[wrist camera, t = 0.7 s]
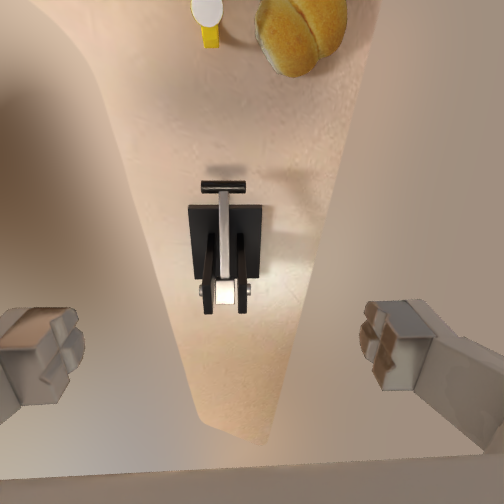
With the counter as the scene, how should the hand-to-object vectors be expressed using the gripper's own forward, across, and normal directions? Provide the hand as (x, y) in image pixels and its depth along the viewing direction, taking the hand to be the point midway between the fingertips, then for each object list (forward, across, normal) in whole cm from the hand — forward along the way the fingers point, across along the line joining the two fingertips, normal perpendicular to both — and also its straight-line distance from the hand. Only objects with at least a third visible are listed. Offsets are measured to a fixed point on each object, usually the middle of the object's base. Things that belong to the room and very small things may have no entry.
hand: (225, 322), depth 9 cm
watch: (+32, +2, -13) cm, 35 cm away
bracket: (+35, +1, +14) cm, 37 cm away
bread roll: (+32, -7, -12) cm, 35 cm away
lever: (+27, +1, +10) cm, 29 cm away
